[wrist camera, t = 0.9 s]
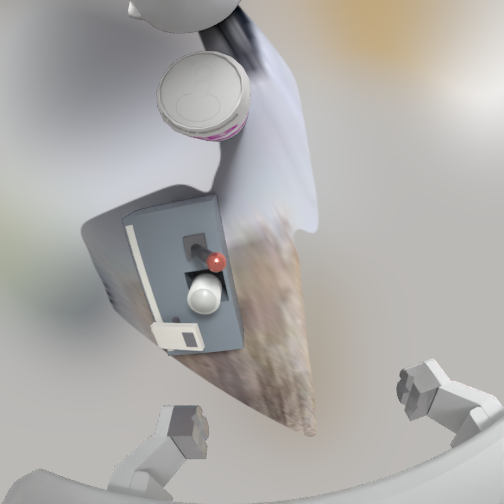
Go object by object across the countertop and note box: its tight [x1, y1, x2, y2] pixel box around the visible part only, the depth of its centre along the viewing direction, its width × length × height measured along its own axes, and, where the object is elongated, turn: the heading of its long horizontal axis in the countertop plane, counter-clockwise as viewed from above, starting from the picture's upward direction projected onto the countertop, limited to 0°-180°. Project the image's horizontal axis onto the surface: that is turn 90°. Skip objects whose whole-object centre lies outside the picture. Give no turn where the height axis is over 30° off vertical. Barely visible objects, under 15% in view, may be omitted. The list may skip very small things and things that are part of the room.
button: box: [187, 273, 222, 314], centre depth 35 cm, size 4×4×4 cm
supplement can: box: [157, 51, 251, 142], centre depth 27 cm, size 8×8×15 cm
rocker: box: [150, 322, 205, 351], centre depth 37 cm, size 4×7×1 cm, turn 99°
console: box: [122, 194, 244, 356], centre depth 39 cm, size 22×12×6 cm, turn 9°
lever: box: [190, 244, 226, 272], centre depth 30 cm, size 2×2×7 cm
